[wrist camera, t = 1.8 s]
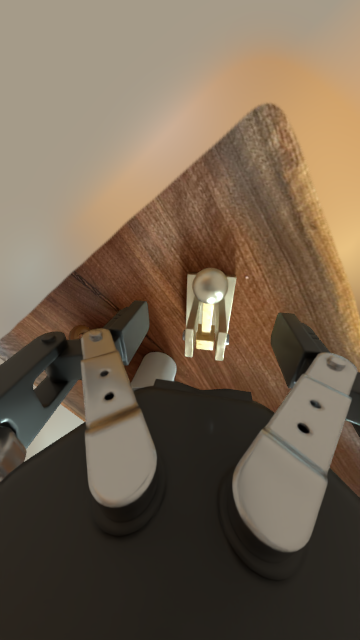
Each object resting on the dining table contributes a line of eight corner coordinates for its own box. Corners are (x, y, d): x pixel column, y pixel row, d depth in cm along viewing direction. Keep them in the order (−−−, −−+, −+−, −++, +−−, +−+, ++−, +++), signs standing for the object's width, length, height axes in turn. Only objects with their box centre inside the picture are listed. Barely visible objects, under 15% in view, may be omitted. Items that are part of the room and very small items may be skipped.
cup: (182, 374, 45) (173, 412, 36) (153, 381, 48) (139, 418, 39) (165, 347, 42) (152, 382, 33) (136, 356, 45) (116, 391, 36)
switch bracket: (188, 272, 33) (173, 303, 22) (235, 275, 31) (245, 309, 20) (186, 326, 38) (173, 372, 27) (227, 330, 37) (230, 380, 26)
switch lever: (194, 259, 17) (189, 286, 15) (231, 260, 16) (230, 289, 14) (195, 330, 28) (192, 350, 26) (217, 333, 27) (215, 353, 25)
